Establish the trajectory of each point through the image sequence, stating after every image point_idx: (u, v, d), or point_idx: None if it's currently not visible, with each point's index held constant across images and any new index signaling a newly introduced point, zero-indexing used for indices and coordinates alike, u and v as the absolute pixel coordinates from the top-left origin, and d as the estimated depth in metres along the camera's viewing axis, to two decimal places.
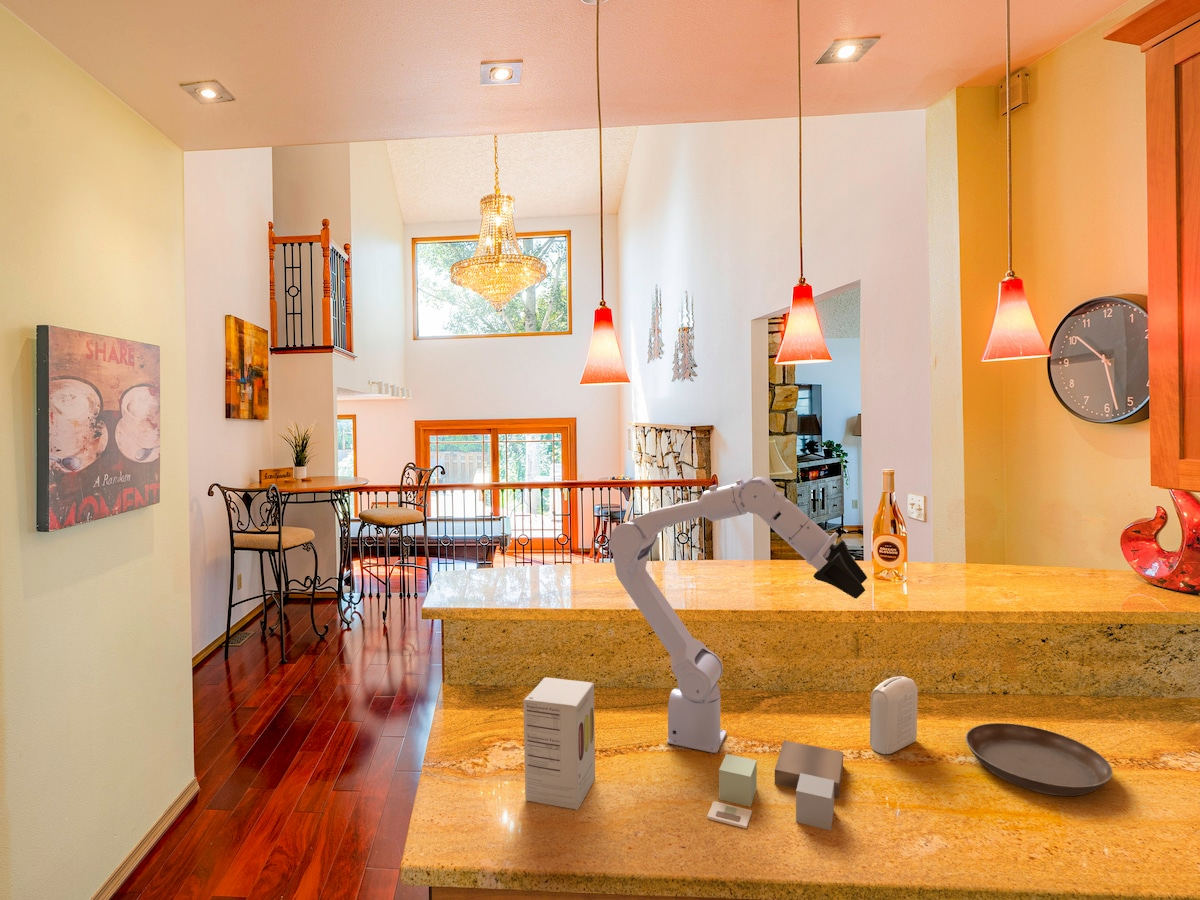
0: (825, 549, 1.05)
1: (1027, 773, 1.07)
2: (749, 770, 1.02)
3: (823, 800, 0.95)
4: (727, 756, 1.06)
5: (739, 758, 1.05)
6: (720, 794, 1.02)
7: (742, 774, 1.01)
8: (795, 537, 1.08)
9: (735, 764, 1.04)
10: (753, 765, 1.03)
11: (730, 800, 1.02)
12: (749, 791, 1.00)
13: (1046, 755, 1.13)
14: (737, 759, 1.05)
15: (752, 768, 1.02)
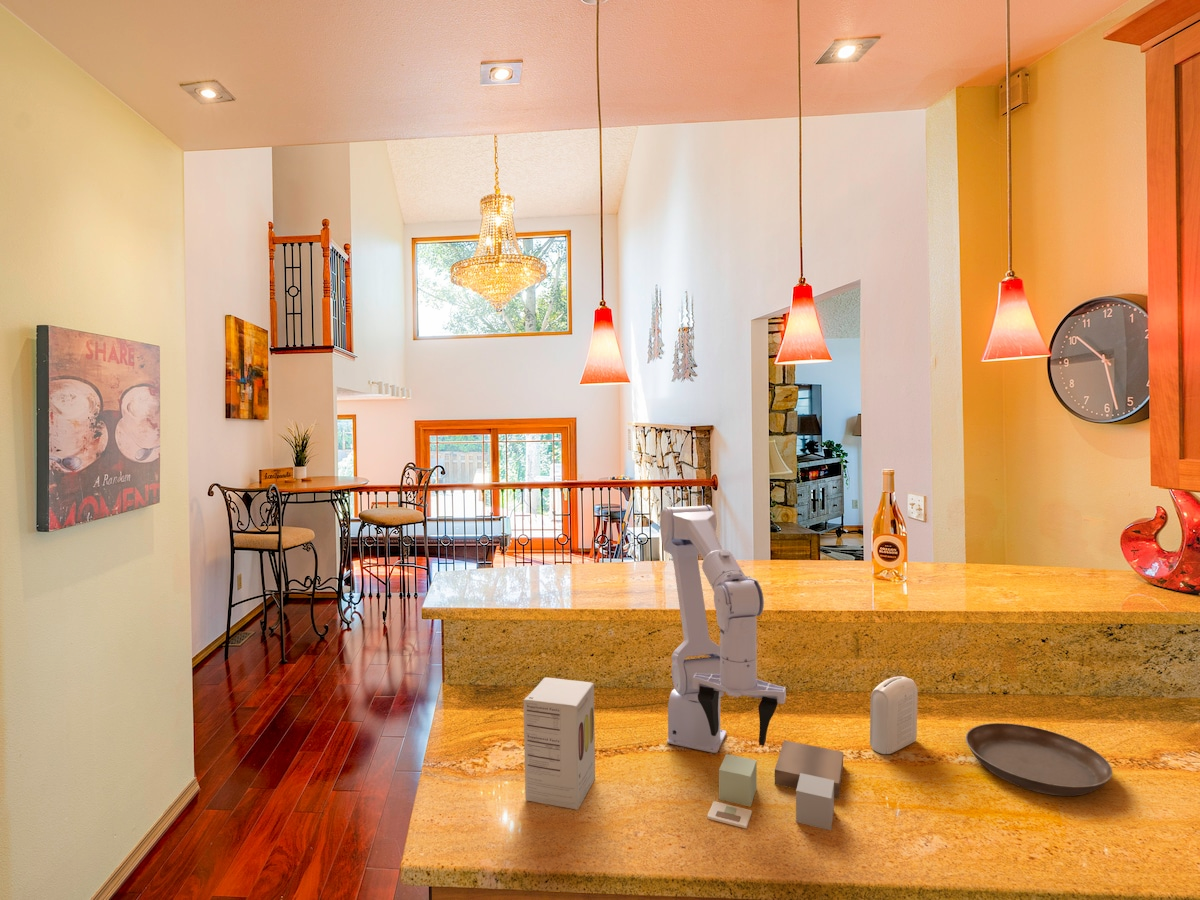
0: (710, 685, 1.03)
1: (1027, 773, 1.07)
2: (749, 770, 1.02)
3: (823, 800, 0.95)
4: (727, 756, 1.06)
5: (739, 758, 1.05)
6: (720, 794, 1.02)
7: (742, 774, 1.01)
8: None
9: (735, 764, 1.04)
10: (753, 765, 1.03)
11: (730, 800, 1.02)
12: (749, 791, 1.00)
13: (1046, 755, 1.13)
14: (737, 759, 1.05)
15: (752, 768, 1.02)
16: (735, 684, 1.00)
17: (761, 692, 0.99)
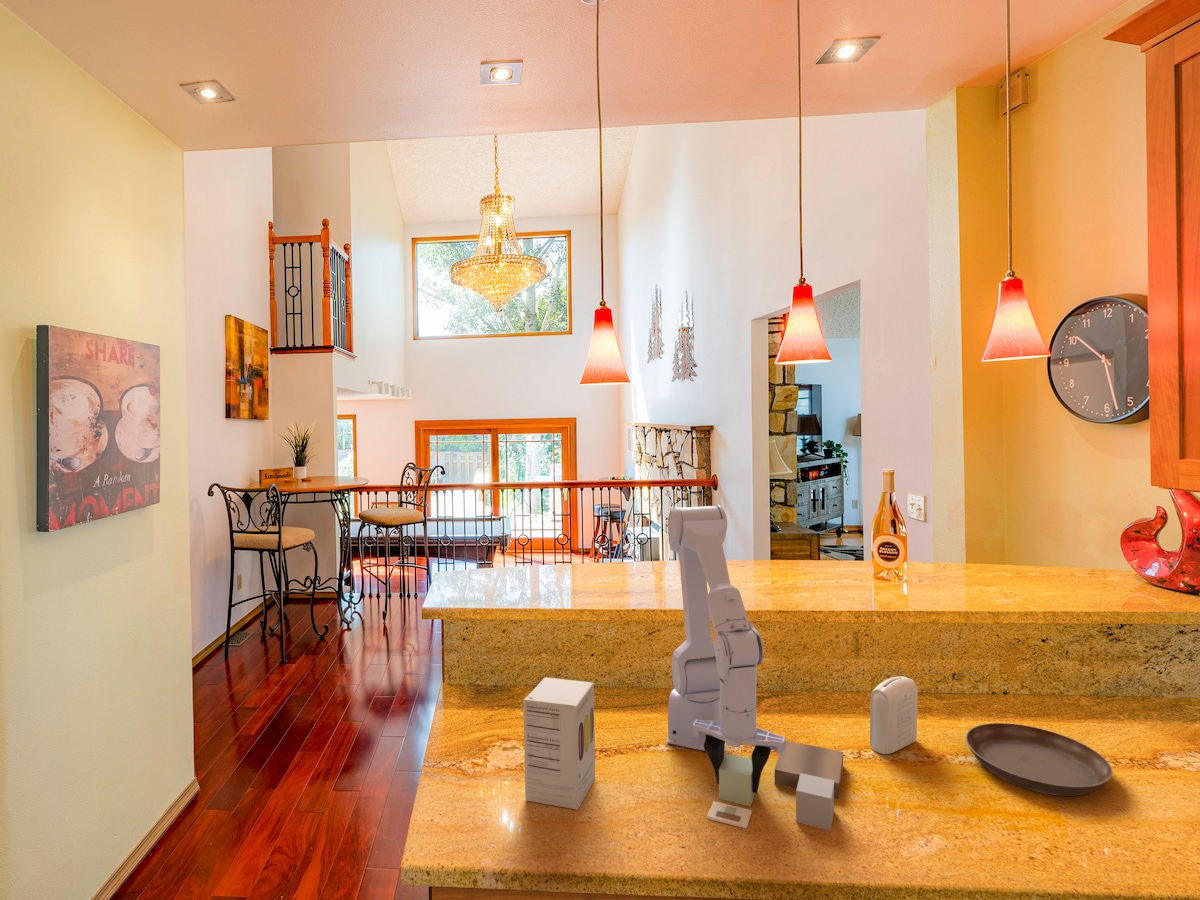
0: (710, 733, 1.03)
1: (1027, 773, 1.07)
2: (749, 769, 1.02)
3: (823, 800, 0.95)
4: (727, 755, 1.06)
5: (739, 757, 1.05)
6: (720, 793, 1.02)
7: (742, 773, 1.01)
8: None
9: (735, 763, 1.04)
10: None
11: (730, 799, 1.02)
12: (749, 790, 1.00)
13: (1046, 755, 1.13)
14: (737, 759, 1.05)
15: None
16: (735, 734, 1.00)
17: (761, 742, 1.00)
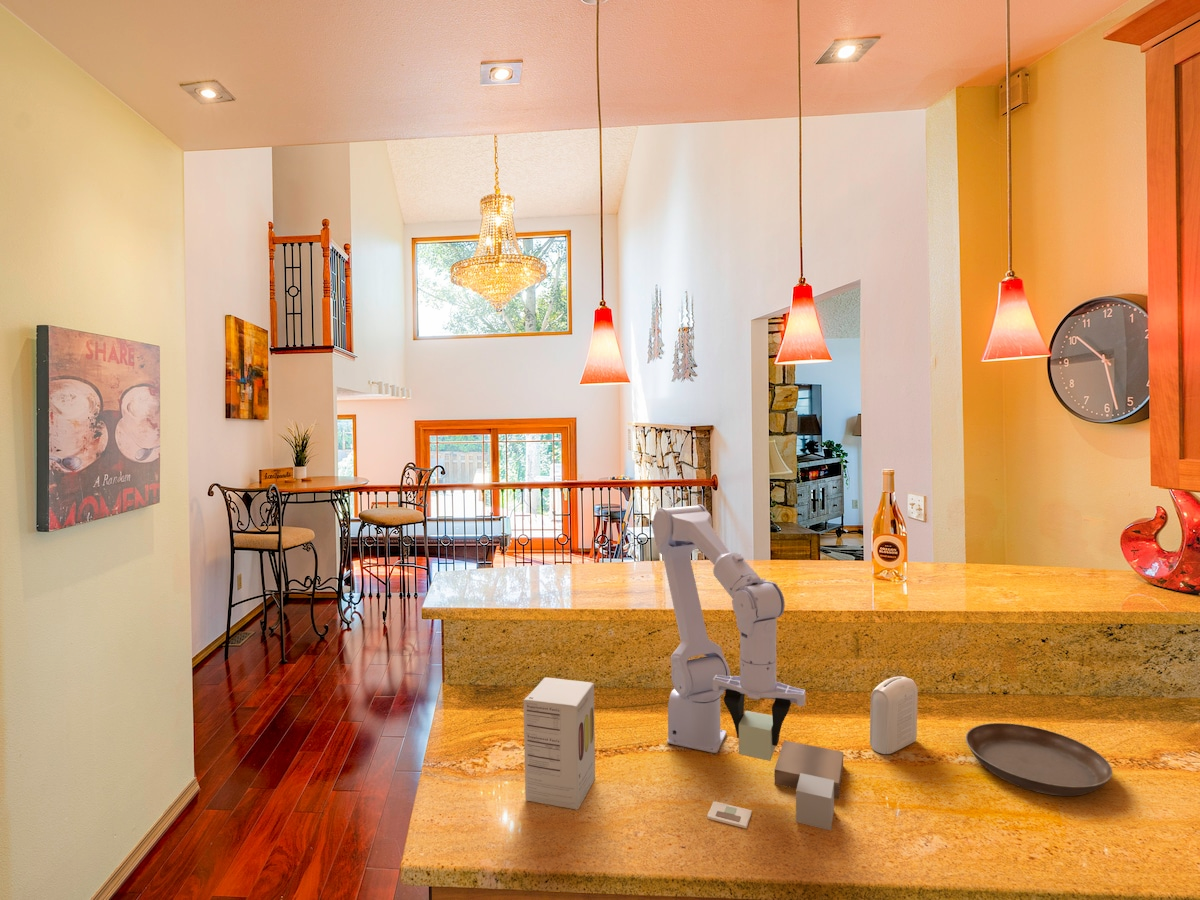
0: (730, 687, 1.04)
1: (1027, 773, 1.07)
2: (769, 725, 1.03)
3: (823, 800, 0.95)
4: (747, 712, 1.07)
5: (759, 714, 1.06)
6: (740, 748, 1.03)
7: (762, 728, 1.02)
8: None
9: (755, 719, 1.04)
10: None
11: (750, 754, 1.03)
12: (769, 745, 1.01)
13: (1046, 755, 1.13)
14: (757, 715, 1.06)
15: (772, 723, 1.03)
16: (755, 686, 1.01)
17: (781, 694, 1.01)
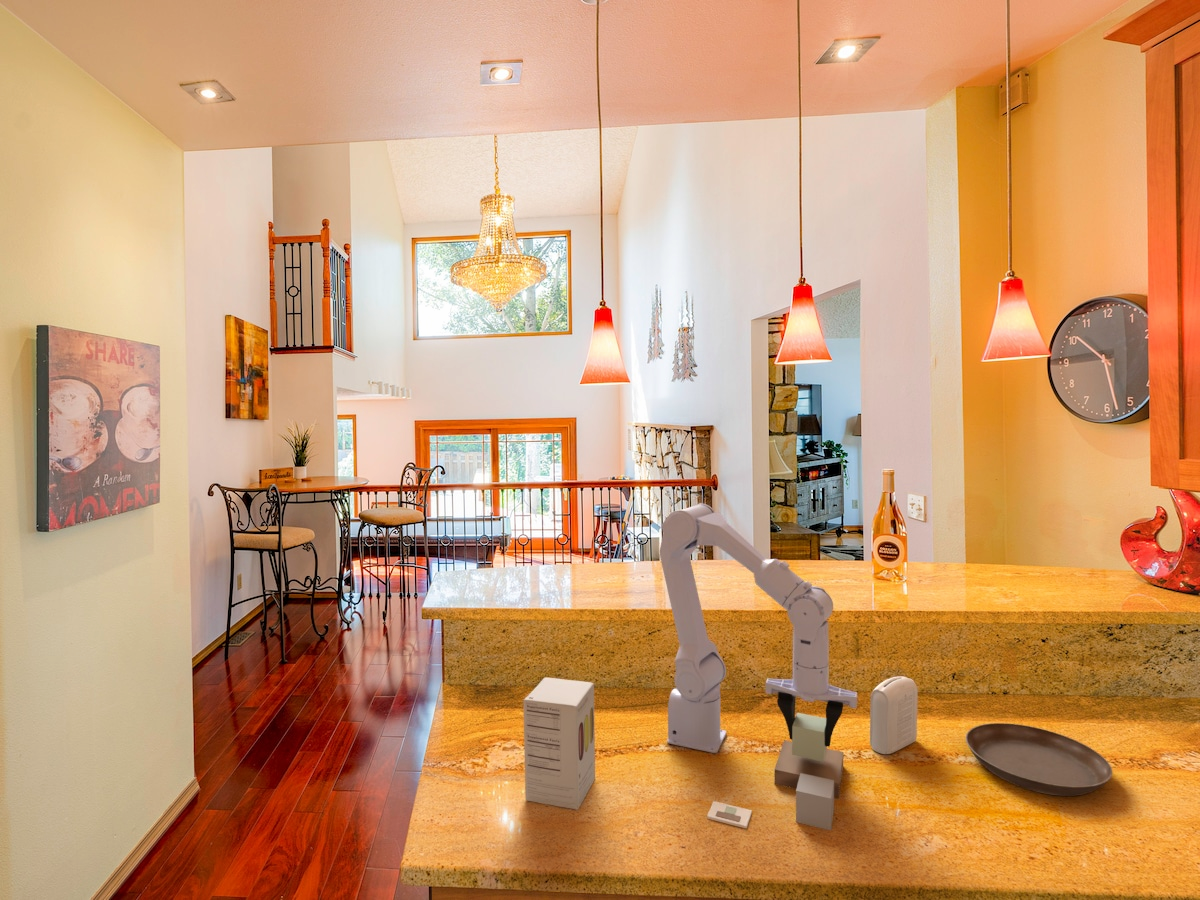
0: (783, 690, 1.08)
1: (1027, 773, 1.07)
2: (822, 727, 1.06)
3: (823, 800, 0.95)
4: (798, 714, 1.11)
5: (810, 716, 1.10)
6: (793, 749, 1.07)
7: (816, 730, 1.05)
8: None
9: (807, 721, 1.08)
10: (825, 722, 1.08)
11: (803, 755, 1.06)
12: (822, 746, 1.05)
13: (1046, 755, 1.13)
14: (809, 718, 1.09)
15: (824, 725, 1.07)
16: (809, 689, 1.05)
17: (834, 697, 1.05)
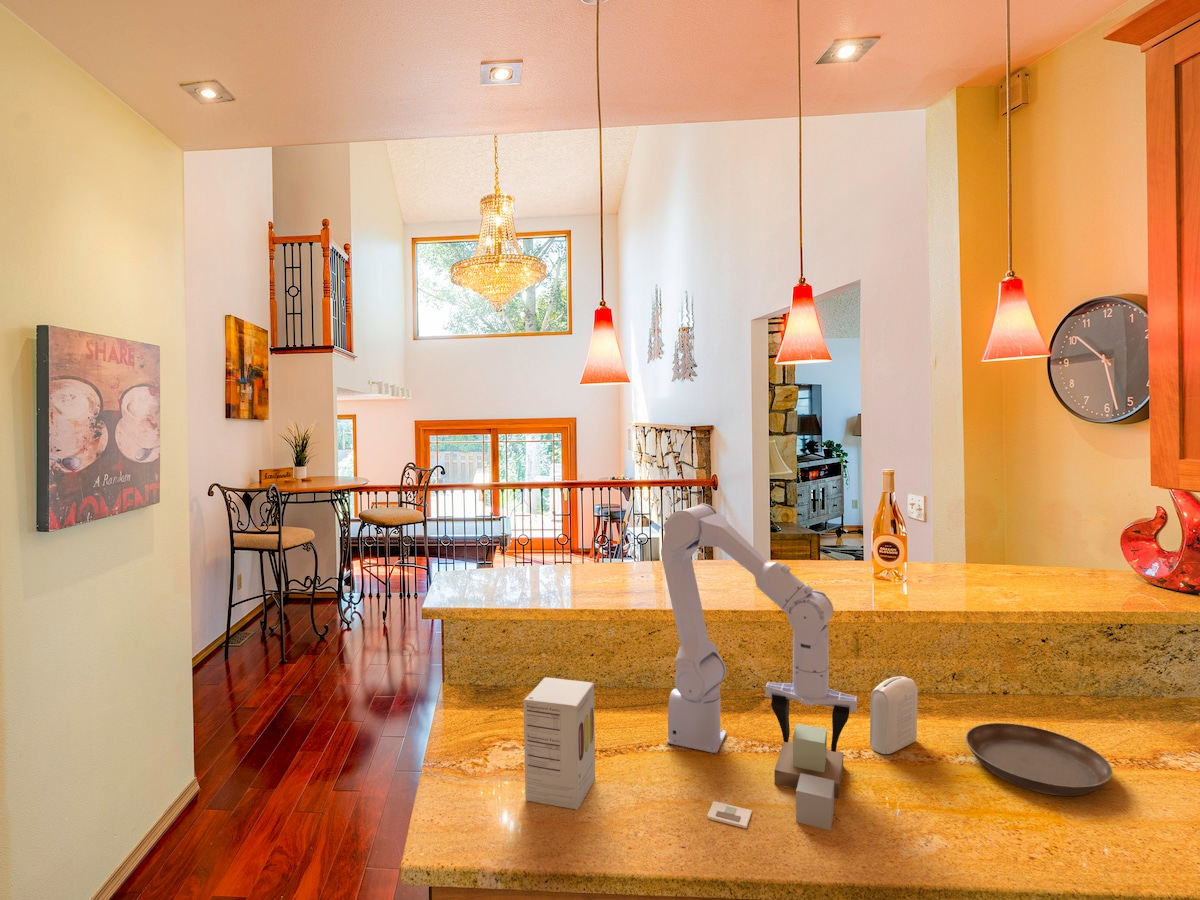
0: (783, 694, 1.08)
1: (1027, 773, 1.07)
2: (822, 737, 1.06)
3: (823, 800, 0.95)
4: (798, 725, 1.11)
5: (810, 727, 1.10)
6: (794, 761, 1.07)
7: (816, 741, 1.05)
8: None
9: (807, 732, 1.08)
10: (824, 733, 1.08)
11: (804, 766, 1.06)
12: (823, 757, 1.05)
13: (1046, 755, 1.13)
14: (808, 728, 1.10)
15: (824, 736, 1.07)
16: (809, 693, 1.05)
17: (834, 701, 1.05)
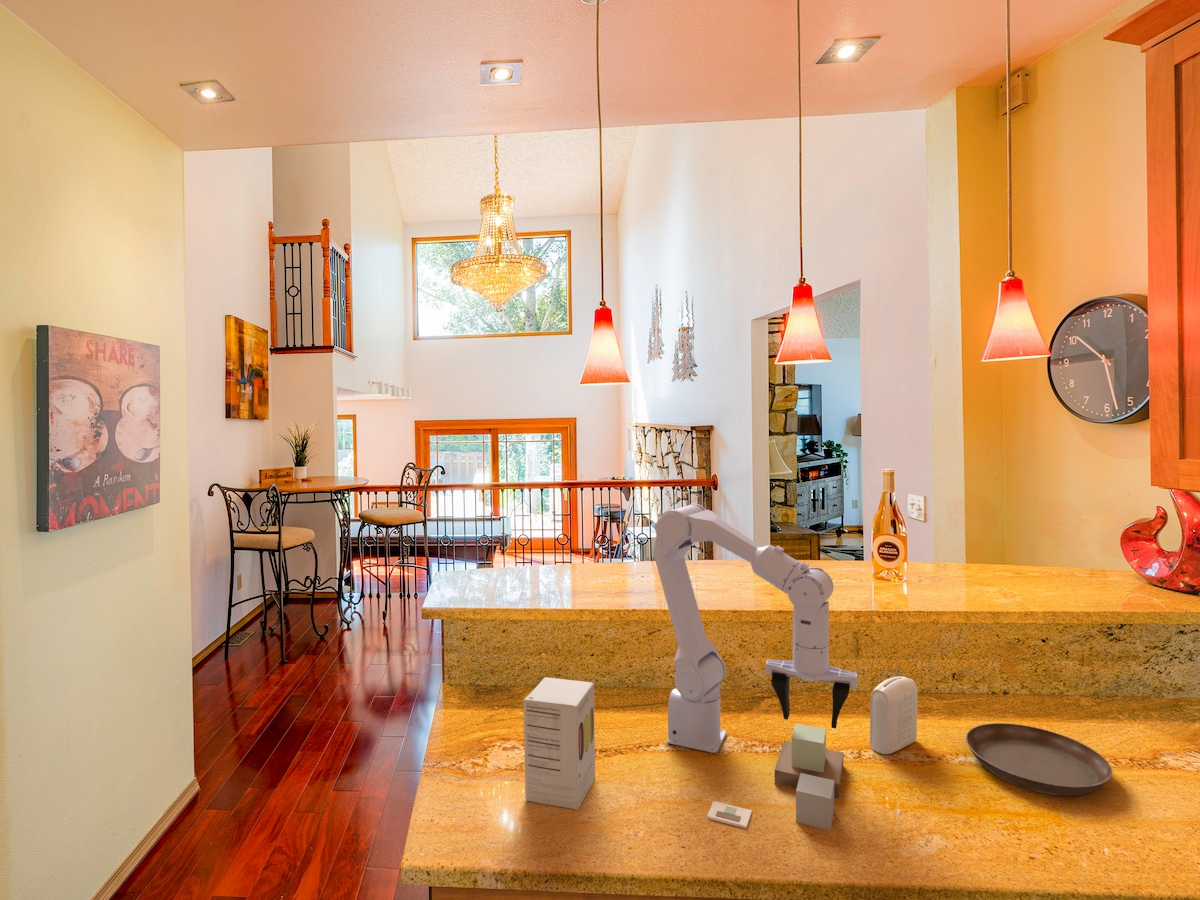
0: (783, 671, 1.08)
1: (1027, 773, 1.07)
2: (821, 738, 1.06)
3: (823, 800, 0.95)
4: (797, 725, 1.11)
5: (809, 727, 1.10)
6: (793, 761, 1.07)
7: (815, 741, 1.05)
8: None
9: (806, 732, 1.08)
10: (823, 733, 1.08)
11: (803, 767, 1.06)
12: (822, 757, 1.05)
13: (1046, 755, 1.13)
14: (807, 728, 1.09)
15: (823, 736, 1.07)
16: (809, 670, 1.05)
17: (834, 677, 1.04)
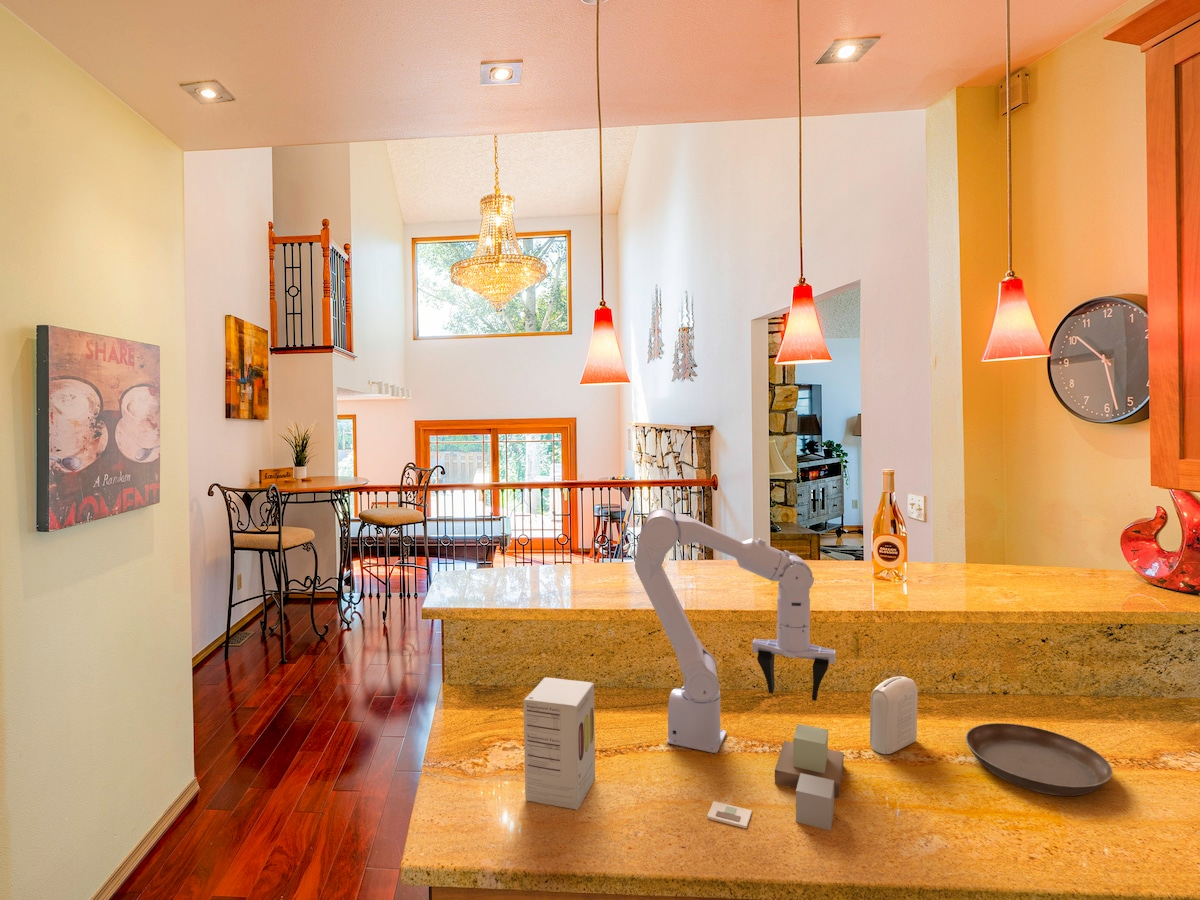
0: (768, 648, 1.17)
1: (1027, 773, 1.07)
2: (823, 738, 1.06)
3: (823, 800, 0.95)
4: (799, 726, 1.10)
5: (811, 727, 1.10)
6: (794, 761, 1.07)
7: (817, 742, 1.05)
8: None
9: (808, 732, 1.08)
10: (826, 734, 1.08)
11: (804, 767, 1.06)
12: (823, 758, 1.05)
13: (1046, 755, 1.13)
14: (809, 729, 1.09)
15: (825, 736, 1.07)
16: (792, 647, 1.15)
17: (814, 654, 1.14)
